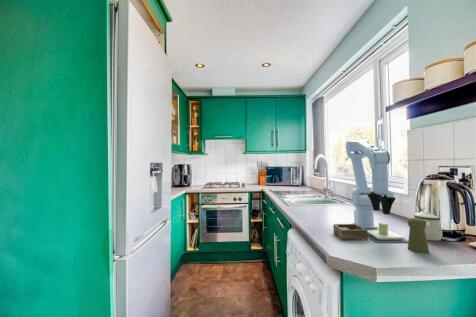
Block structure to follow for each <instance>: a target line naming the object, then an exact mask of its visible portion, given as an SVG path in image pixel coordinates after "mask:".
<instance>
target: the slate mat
mask: <svg viewBox="0 0 476 317" xmlns="http://www.w3.org/2000/svg"><path fill="white" fill-rule="evenodd" d="M367 235H368V240H371V241H372V242H374V243H376V244H405V243H406V244H408V241H409V239H406V238H404V239H399V240H378V239H376V238H375V237H373V236H371V235H370V234H368V233H367Z"/></svg>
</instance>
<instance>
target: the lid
mask: <svg viewBox="0 0 476 317" xmlns="http://www.w3.org/2000/svg"><path fill="white" fill-rule="evenodd" d="M388 227H389V225H388V223H385V222H378V229H377V230H375V229H373V230H372V229H371V230H370V229H369V230H368V229H366V230H367V233H368V234H370V235H371V236H373V237H375V238H376V239H378V240H399V239H405V237H404V236H402V235H400V234H397V233H396V232H394V231H391V230H390V229H389V228H388Z"/></svg>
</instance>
